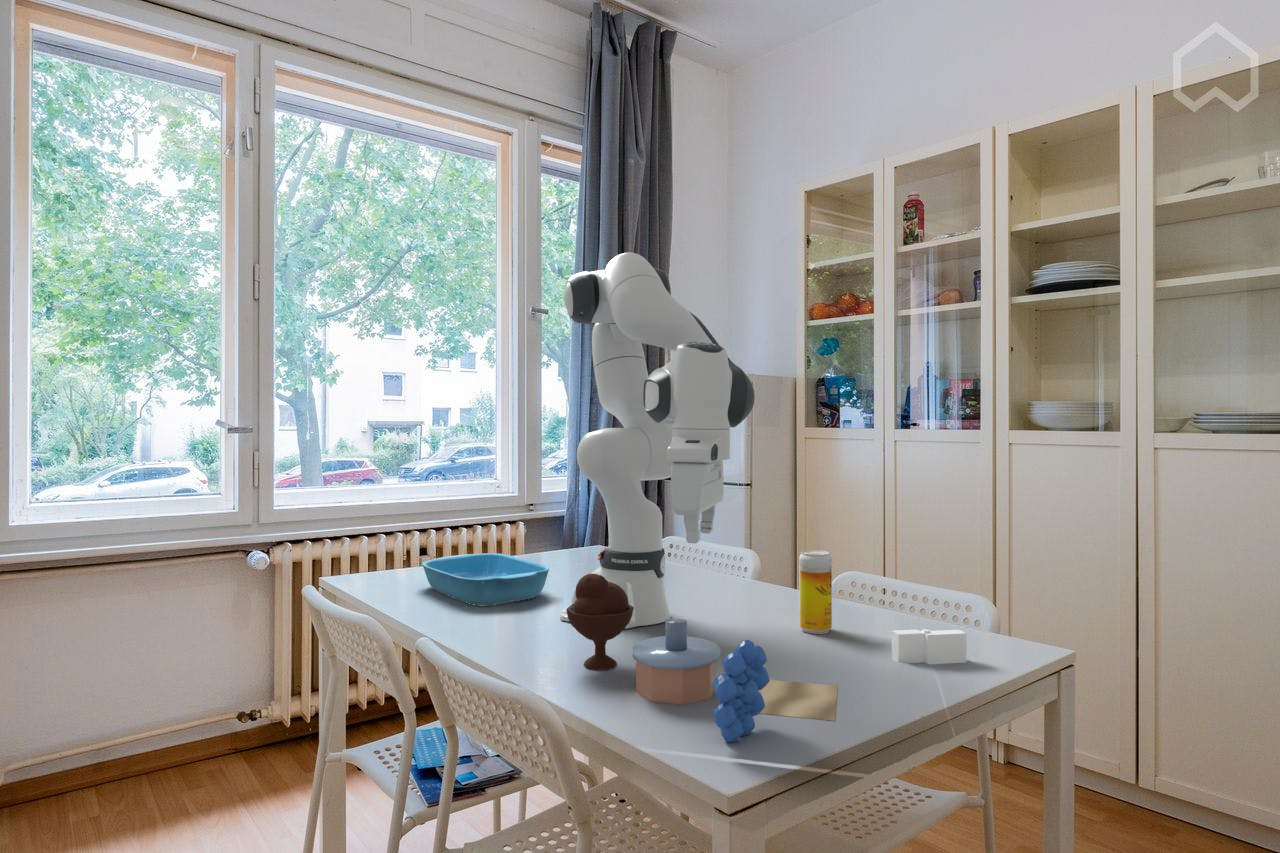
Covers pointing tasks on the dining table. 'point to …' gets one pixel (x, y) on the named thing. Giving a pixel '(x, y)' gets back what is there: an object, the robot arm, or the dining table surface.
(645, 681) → the bowl
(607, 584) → the ice cream bowl
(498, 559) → the casserole dish
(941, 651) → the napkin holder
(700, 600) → the dining table surface
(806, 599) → the beer can
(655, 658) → the lid
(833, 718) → the plate
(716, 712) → the grapes
